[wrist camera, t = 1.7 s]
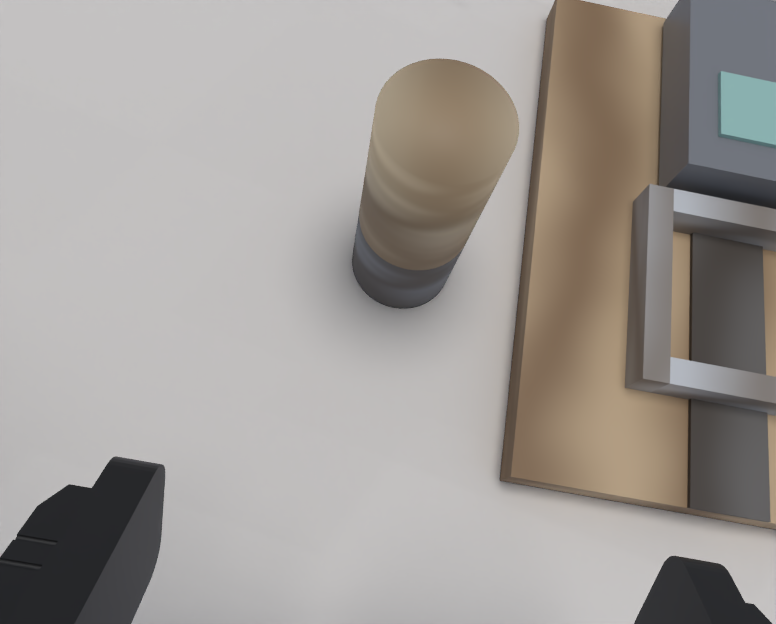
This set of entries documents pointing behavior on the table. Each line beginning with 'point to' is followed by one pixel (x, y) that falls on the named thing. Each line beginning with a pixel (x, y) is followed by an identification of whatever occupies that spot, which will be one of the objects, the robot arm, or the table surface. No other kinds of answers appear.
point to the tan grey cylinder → (428, 176)
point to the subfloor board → (636, 298)
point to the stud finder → (720, 100)
